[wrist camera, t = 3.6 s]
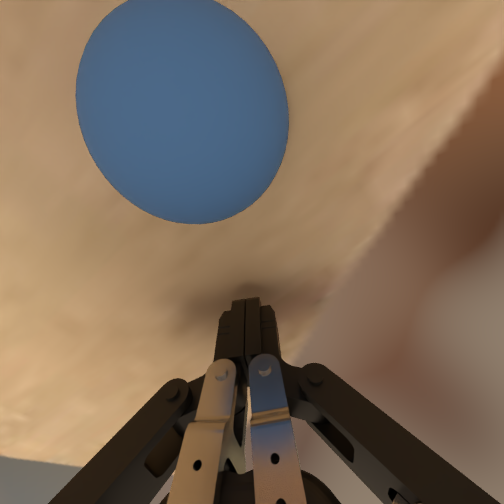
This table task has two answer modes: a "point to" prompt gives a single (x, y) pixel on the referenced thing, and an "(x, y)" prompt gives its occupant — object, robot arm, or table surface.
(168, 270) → the table surface
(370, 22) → the table surface
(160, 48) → the ball
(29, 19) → the table surface
